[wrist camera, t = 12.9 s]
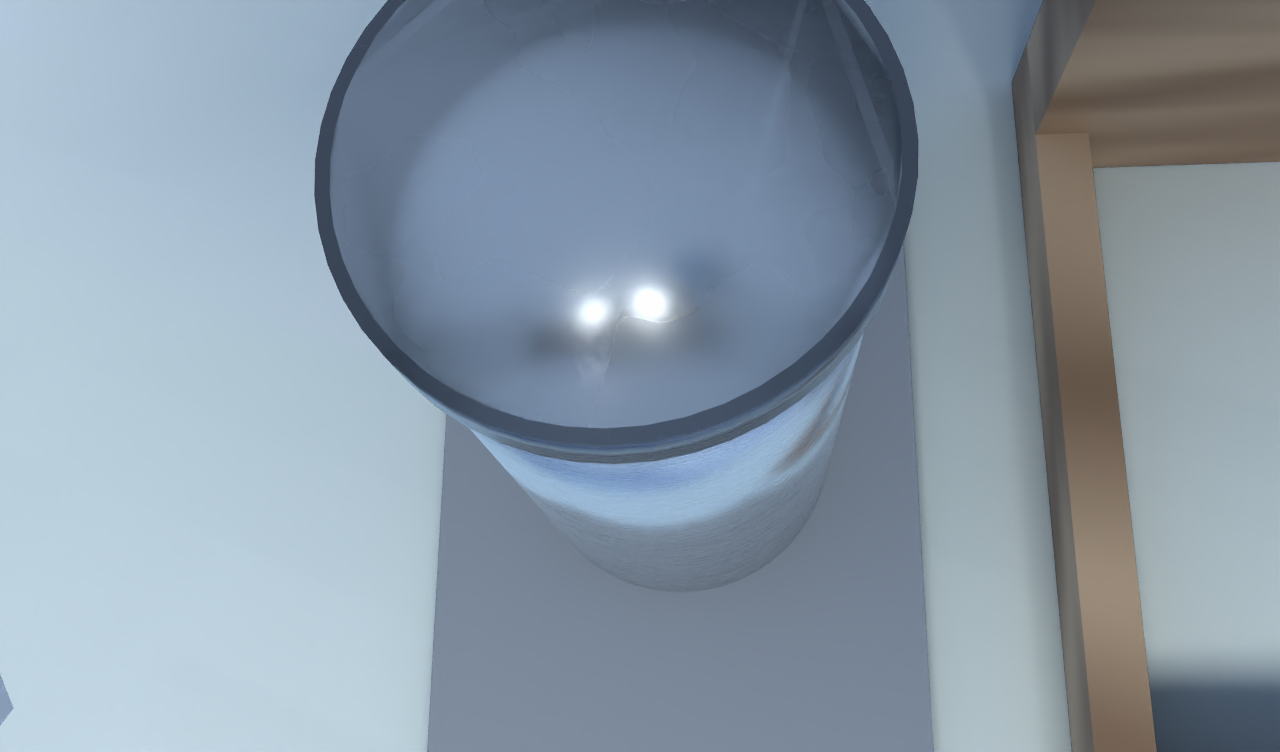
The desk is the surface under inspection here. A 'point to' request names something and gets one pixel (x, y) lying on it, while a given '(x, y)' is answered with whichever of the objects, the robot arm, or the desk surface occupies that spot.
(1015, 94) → the frame
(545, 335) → the canister
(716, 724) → the felt pad
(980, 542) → the desk surface
